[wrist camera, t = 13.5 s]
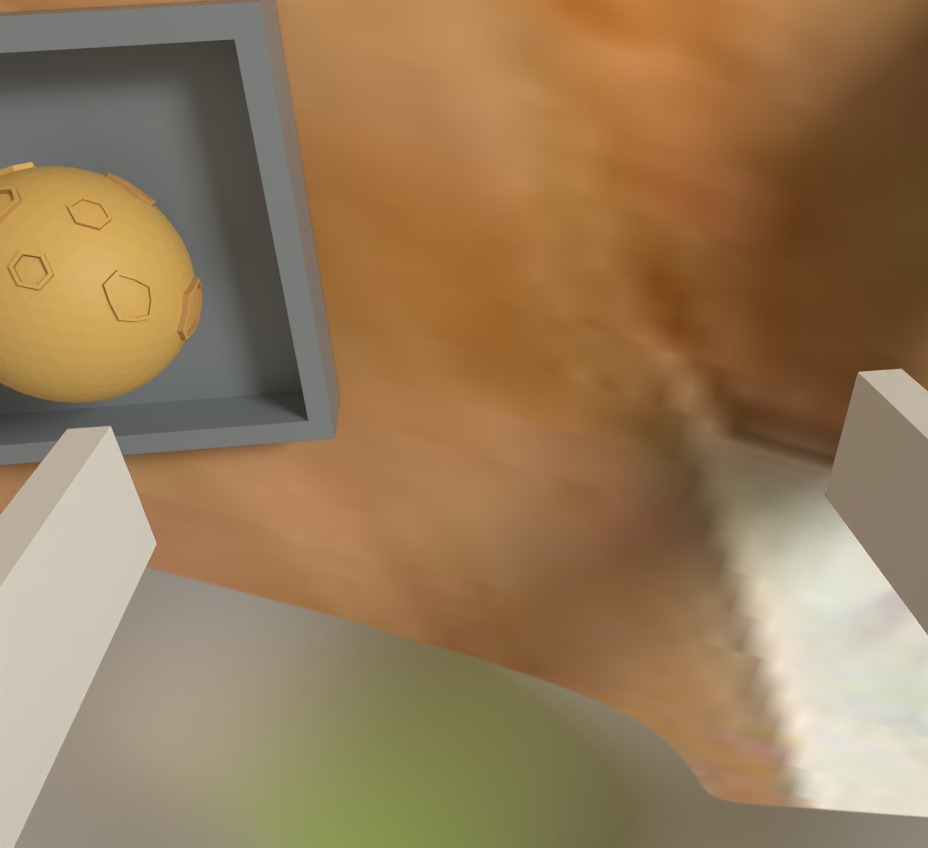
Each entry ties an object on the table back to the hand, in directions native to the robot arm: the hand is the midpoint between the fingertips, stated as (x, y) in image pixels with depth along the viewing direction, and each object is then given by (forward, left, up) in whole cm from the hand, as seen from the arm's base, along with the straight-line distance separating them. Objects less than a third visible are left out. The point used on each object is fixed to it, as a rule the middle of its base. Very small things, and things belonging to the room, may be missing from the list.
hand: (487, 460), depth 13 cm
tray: (+16, +3, -26) cm, 30 cm away
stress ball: (+16, +3, -25) cm, 30 cm away
